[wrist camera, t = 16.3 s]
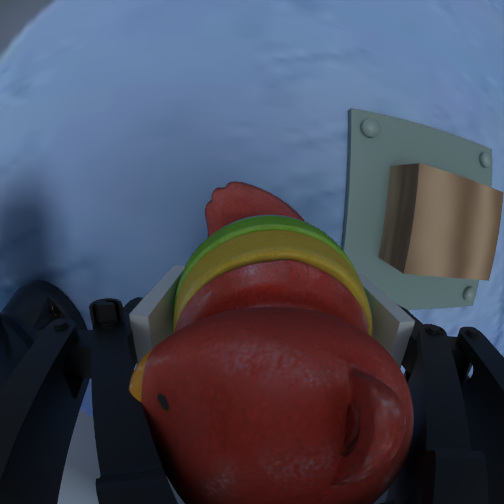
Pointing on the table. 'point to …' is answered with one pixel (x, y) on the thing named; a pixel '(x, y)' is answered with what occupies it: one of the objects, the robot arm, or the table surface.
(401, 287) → the base plate
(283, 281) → the stacking bear
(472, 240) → the walnut brick
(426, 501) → the robot arm
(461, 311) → the table surface
